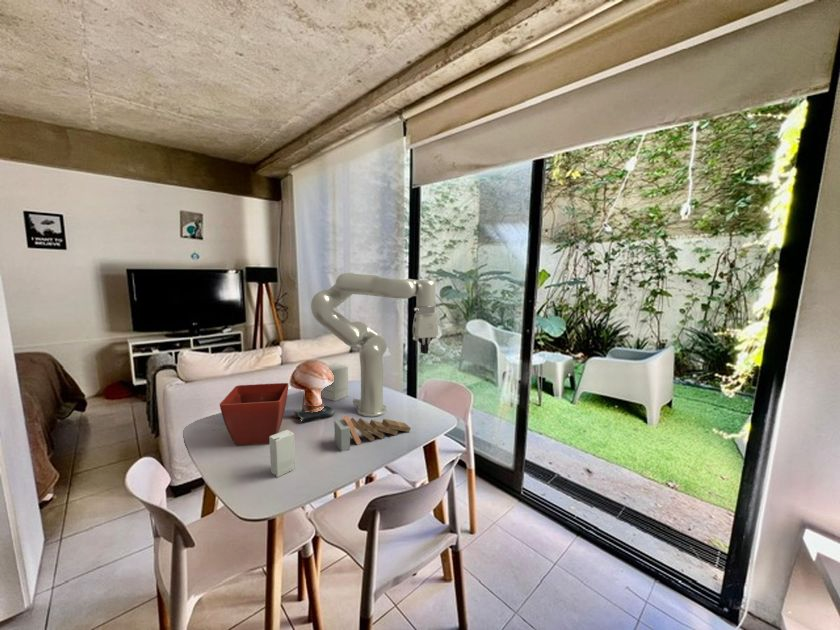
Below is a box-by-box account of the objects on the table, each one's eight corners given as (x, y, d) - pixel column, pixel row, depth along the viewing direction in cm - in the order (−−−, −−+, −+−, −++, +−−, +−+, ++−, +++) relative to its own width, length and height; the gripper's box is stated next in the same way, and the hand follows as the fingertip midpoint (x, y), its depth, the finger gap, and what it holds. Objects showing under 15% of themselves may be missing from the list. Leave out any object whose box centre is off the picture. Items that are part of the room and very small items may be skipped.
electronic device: (302, 429, 137) (338, 415, 145) (299, 416, 136) (335, 402, 144) (296, 423, 144) (329, 410, 153) (293, 411, 143) (327, 398, 152)
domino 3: (396, 435, 130) (374, 429, 125) (390, 429, 134) (369, 423, 129) (398, 431, 130) (376, 425, 125) (392, 425, 135) (371, 419, 129)
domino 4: (409, 432, 133) (387, 428, 128) (403, 426, 137) (382, 422, 132) (410, 428, 133) (389, 424, 128) (404, 422, 137) (383, 418, 132)
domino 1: (371, 441, 125) (353, 426, 121) (366, 435, 129) (349, 420, 125) (374, 438, 126) (357, 422, 121) (369, 432, 130) (352, 417, 125)
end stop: (341, 451, 118) (341, 429, 117) (334, 441, 125) (334, 420, 124) (350, 449, 120) (349, 427, 118) (342, 439, 126) (342, 418, 125)
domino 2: (382, 438, 127) (362, 427, 122) (376, 433, 132) (357, 421, 127) (384, 435, 128) (365, 423, 123) (379, 429, 132) (360, 417, 127)
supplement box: (336, 391, 173) (336, 362, 170) (348, 395, 167) (348, 366, 165) (321, 397, 165) (321, 366, 163) (334, 401, 160) (333, 370, 158)
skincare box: (288, 464, 110) (287, 428, 108) (296, 469, 107) (295, 433, 106) (269, 472, 106) (268, 435, 104) (277, 478, 103) (275, 440, 101)
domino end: (357, 445, 123) (346, 422, 119) (352, 438, 127) (342, 417, 124) (361, 442, 123) (350, 420, 120) (356, 436, 127) (346, 414, 124)
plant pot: (238, 426, 134) (236, 384, 132) (290, 422, 138) (288, 382, 136) (221, 452, 116) (218, 404, 113) (281, 447, 120) (279, 401, 117)
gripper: (414, 312, 136) (413, 357, 139) (445, 310, 143) (444, 353, 146) (405, 309, 142) (404, 352, 145) (435, 308, 150) (434, 349, 152)
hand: (424, 352), depth 145 cm, fingers closed
